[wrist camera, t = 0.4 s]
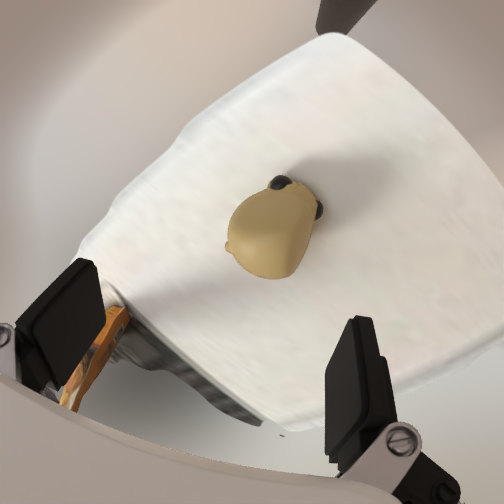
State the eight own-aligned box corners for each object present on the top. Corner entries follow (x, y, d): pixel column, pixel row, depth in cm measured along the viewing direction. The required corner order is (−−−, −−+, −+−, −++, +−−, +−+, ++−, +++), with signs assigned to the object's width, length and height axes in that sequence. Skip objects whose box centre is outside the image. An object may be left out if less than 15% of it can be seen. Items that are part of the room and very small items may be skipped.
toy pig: (305, 223, 44) (354, 206, 34) (262, 294, 40) (307, 296, 30) (252, 178, 41) (291, 148, 32) (201, 249, 38) (230, 235, 28)
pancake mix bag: (147, 317, 54) (77, 446, 30) (108, 350, 62) (52, 449, 38) (119, 293, 52) (37, 417, 28) (85, 331, 60) (23, 427, 36)
